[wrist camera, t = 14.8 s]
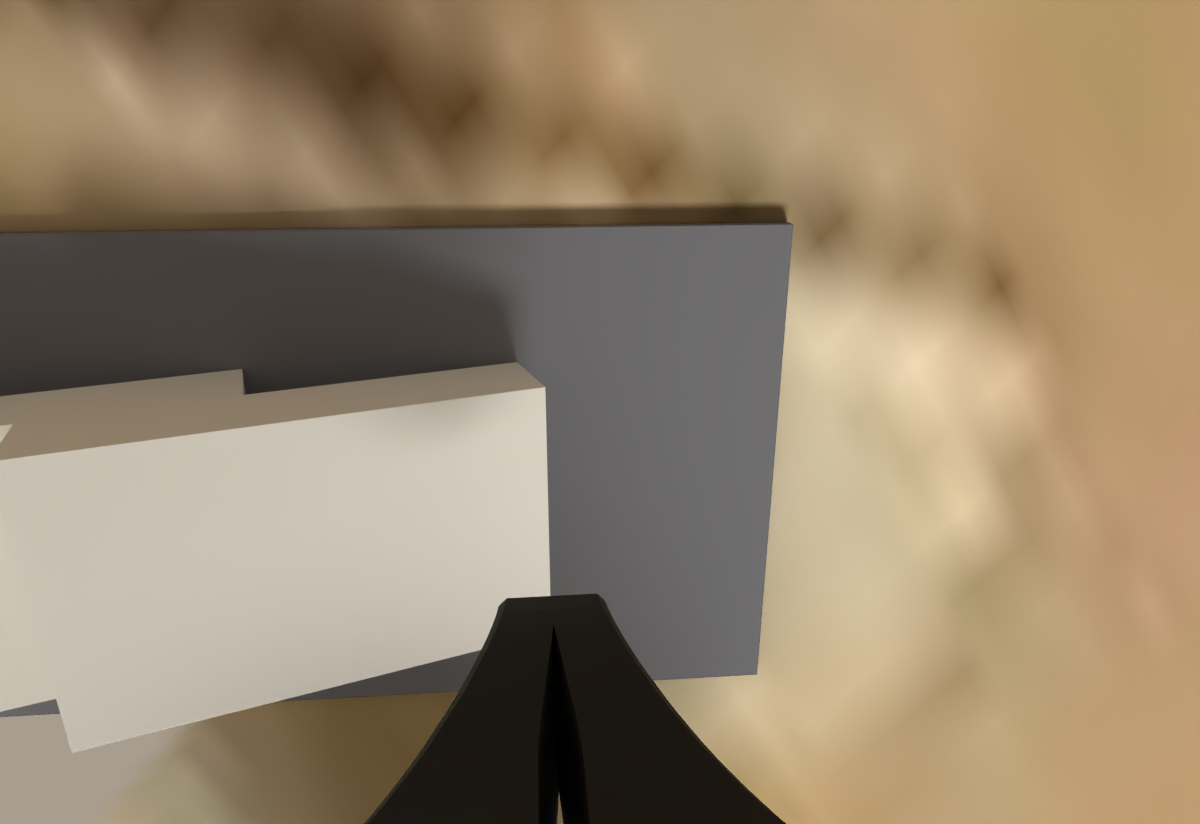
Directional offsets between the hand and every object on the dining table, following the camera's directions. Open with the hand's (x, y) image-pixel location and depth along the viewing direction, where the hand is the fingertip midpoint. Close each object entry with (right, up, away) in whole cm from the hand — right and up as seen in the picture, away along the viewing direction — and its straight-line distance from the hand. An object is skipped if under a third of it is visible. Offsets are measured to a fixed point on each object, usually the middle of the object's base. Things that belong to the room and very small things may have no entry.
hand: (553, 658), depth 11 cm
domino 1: (-1, +2, +5) cm, 5 cm away
